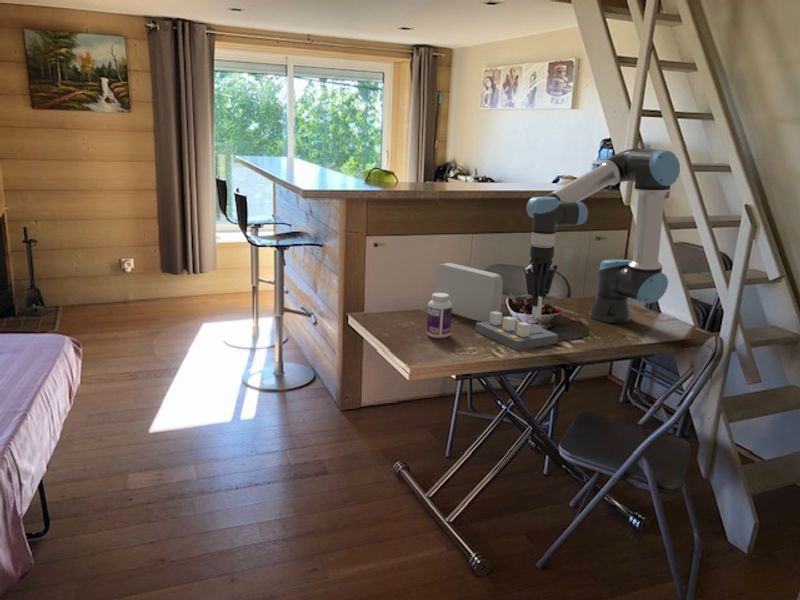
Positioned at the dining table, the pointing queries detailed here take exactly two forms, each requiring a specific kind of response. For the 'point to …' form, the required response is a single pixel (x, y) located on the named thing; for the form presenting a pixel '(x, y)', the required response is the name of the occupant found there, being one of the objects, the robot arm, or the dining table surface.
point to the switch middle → (508, 323)
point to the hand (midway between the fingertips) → (536, 315)
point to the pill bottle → (439, 316)
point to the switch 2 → (523, 329)
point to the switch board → (515, 341)
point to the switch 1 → (495, 318)
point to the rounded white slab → (470, 290)
